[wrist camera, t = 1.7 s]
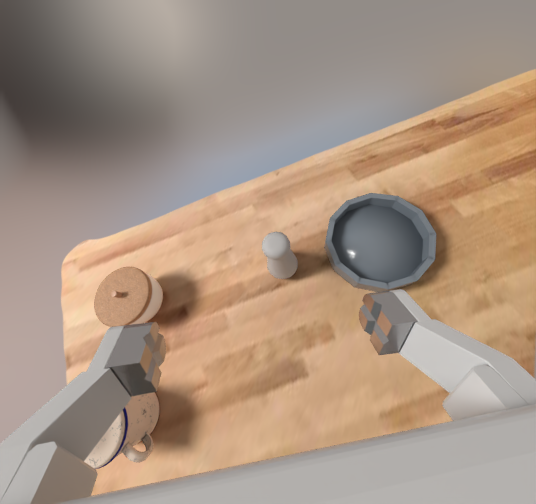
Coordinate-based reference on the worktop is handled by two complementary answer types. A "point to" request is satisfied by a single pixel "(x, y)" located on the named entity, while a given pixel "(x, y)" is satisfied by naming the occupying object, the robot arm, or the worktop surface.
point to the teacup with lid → (128, 432)
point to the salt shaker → (279, 255)
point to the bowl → (380, 242)
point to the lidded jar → (128, 297)
